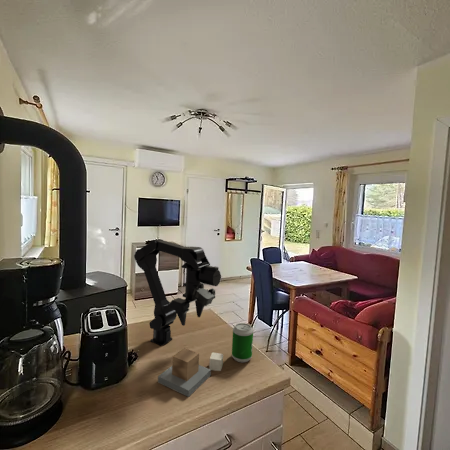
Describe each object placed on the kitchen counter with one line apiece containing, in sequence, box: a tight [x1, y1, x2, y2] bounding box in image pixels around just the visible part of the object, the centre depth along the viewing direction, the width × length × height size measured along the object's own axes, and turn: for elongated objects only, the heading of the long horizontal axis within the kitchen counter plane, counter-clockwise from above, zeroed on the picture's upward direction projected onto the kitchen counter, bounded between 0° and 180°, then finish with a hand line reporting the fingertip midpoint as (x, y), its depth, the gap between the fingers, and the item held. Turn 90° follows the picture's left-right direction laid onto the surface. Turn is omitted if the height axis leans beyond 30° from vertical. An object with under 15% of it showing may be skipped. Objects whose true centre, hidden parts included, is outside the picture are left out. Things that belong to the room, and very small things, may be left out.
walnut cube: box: [171, 347, 200, 381], centre depth 86 cm, size 6×6×6 cm
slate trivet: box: [157, 364, 212, 398], centre depth 86 cm, size 12×12×2 cm
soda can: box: [231, 322, 254, 363], centre depth 99 cm, size 8×8×12 cm
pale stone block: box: [208, 352, 224, 372], centre depth 93 cm, size 4×4×4 cm
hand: (191, 321), depth 102 cm, fingers open, 9 cm apart
